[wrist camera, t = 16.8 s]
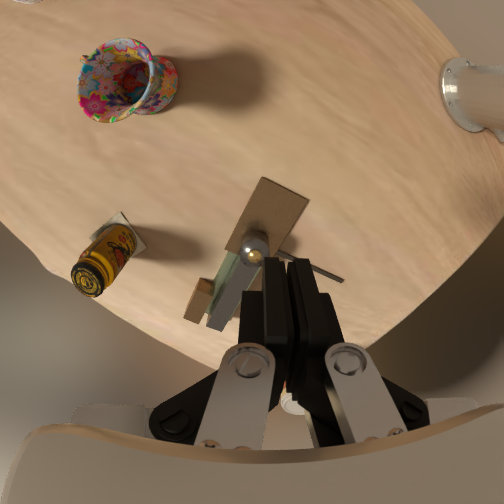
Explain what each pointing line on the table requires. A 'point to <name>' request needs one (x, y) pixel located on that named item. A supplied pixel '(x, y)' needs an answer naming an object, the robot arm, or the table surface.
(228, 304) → the swing bar
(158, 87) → the mug
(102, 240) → the condiment
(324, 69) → the table surface
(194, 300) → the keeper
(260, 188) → the plate
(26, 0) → the paper bowls
